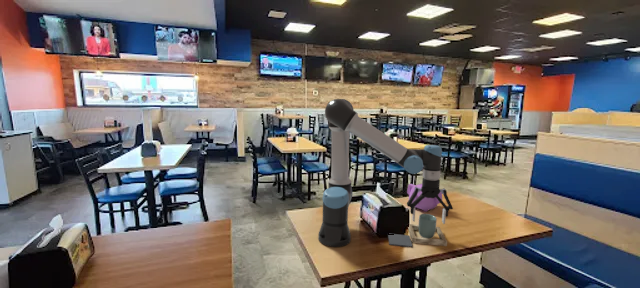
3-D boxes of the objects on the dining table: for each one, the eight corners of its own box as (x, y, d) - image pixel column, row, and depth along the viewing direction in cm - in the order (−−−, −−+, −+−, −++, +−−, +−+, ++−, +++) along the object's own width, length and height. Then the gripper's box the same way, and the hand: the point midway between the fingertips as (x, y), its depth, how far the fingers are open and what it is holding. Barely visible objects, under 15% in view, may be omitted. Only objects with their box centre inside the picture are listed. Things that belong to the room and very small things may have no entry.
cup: (436, 241, 129) (438, 221, 128) (418, 239, 131) (420, 219, 129) (433, 233, 137) (434, 214, 135) (416, 232, 138) (418, 213, 137)
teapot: (433, 202, 179) (435, 179, 177) (444, 213, 162) (446, 188, 159) (403, 201, 180) (404, 179, 178) (411, 212, 162) (413, 188, 160)
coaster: (389, 244, 125) (389, 243, 125) (388, 234, 135) (388, 233, 135) (412, 247, 124) (412, 246, 124) (409, 236, 133) (409, 235, 133)
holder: (412, 242, 128) (412, 238, 128) (408, 228, 142) (408, 224, 142) (446, 246, 125) (447, 241, 125) (439, 231, 140) (439, 227, 139)
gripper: (404, 179, 128) (402, 222, 131) (462, 182, 123) (458, 227, 127) (402, 174, 135) (400, 216, 138) (457, 177, 131) (454, 220, 134)
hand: (428, 221), depth 133 cm, fingers open, 13 cm apart
